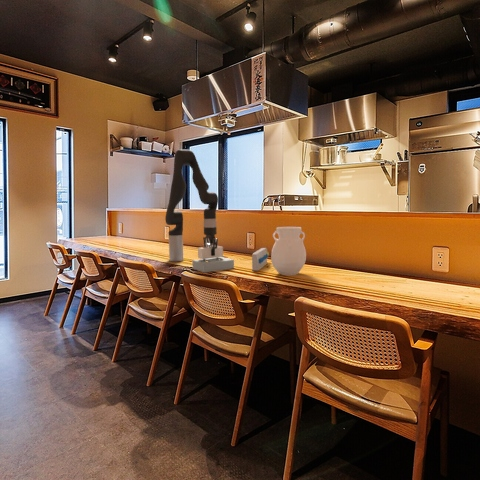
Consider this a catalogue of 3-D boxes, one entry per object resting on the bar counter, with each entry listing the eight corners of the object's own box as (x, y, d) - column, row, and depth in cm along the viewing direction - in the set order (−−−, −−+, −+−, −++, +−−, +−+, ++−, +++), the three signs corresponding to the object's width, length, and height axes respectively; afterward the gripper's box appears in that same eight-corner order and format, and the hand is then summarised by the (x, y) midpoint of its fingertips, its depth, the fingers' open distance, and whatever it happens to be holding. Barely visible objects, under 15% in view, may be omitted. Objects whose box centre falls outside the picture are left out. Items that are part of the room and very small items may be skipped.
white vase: (308, 271, 191) (308, 226, 188) (303, 278, 173) (303, 228, 171) (275, 269, 197) (275, 225, 194) (267, 276, 180) (267, 228, 177)
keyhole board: (192, 268, 203) (192, 260, 202) (221, 264, 214) (221, 256, 213) (203, 272, 191) (203, 263, 191) (233, 268, 202) (233, 259, 202)
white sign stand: (198, 264, 202) (197, 247, 201) (219, 262, 210) (218, 245, 209) (202, 265, 198) (201, 248, 197) (223, 263, 206) (222, 246, 205)
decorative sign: (258, 271, 192) (258, 253, 191) (252, 271, 193) (251, 253, 192) (270, 261, 223) (270, 246, 222) (264, 261, 224) (264, 246, 223)
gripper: (198, 226, 206) (199, 254, 207) (210, 227, 194) (211, 257, 196) (209, 225, 210) (210, 253, 212) (221, 226, 198) (222, 255, 200)
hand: (210, 255), depth 204 cm, fingers closed on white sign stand, 5 cm apart
